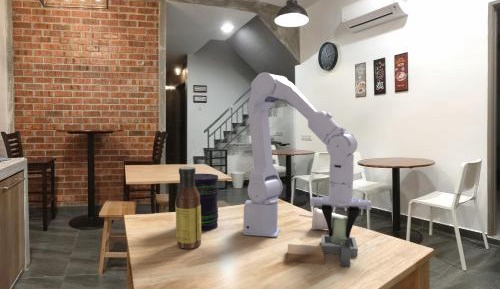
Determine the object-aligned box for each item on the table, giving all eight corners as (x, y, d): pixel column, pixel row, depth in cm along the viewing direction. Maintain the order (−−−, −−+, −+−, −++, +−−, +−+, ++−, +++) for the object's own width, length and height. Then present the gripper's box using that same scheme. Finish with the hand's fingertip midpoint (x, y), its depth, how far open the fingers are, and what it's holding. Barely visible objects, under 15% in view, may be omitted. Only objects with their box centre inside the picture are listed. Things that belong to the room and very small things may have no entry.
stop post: (340, 266, 80) (341, 248, 80) (339, 255, 86) (340, 239, 86) (350, 266, 80) (350, 249, 80) (348, 256, 86) (348, 240, 86)
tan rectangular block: (287, 263, 82) (287, 253, 82) (287, 253, 88) (287, 244, 88) (323, 265, 82) (323, 255, 81) (321, 255, 87) (321, 246, 87)
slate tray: (321, 253, 88) (321, 245, 88) (321, 241, 96) (321, 234, 96) (357, 256, 86) (357, 248, 86) (354, 244, 95) (354, 237, 94)
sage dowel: (330, 240, 93) (331, 215, 93) (345, 240, 93) (346, 215, 92) (332, 244, 90) (332, 219, 89) (347, 245, 89) (348, 219, 89)
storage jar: (204, 233, 101) (204, 180, 100) (177, 227, 106) (177, 176, 104) (224, 224, 109) (225, 175, 108) (198, 219, 114) (198, 172, 113)
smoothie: (349, 207, 104) (300, 200, 108) (347, 223, 99) (296, 215, 103) (347, 223, 108) (300, 216, 112) (345, 239, 103) (296, 231, 107)
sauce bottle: (191, 239, 96) (192, 164, 94) (206, 245, 91) (207, 167, 90) (170, 245, 91) (170, 167, 90) (184, 252, 87) (184, 170, 85)
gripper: (310, 183, 87) (309, 238, 88) (373, 186, 85) (371, 243, 86) (311, 178, 94) (309, 229, 95) (369, 181, 91) (367, 234, 93)
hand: (338, 235), depth 91 cm, fingers closed on sage dowel, 4 cm apart
